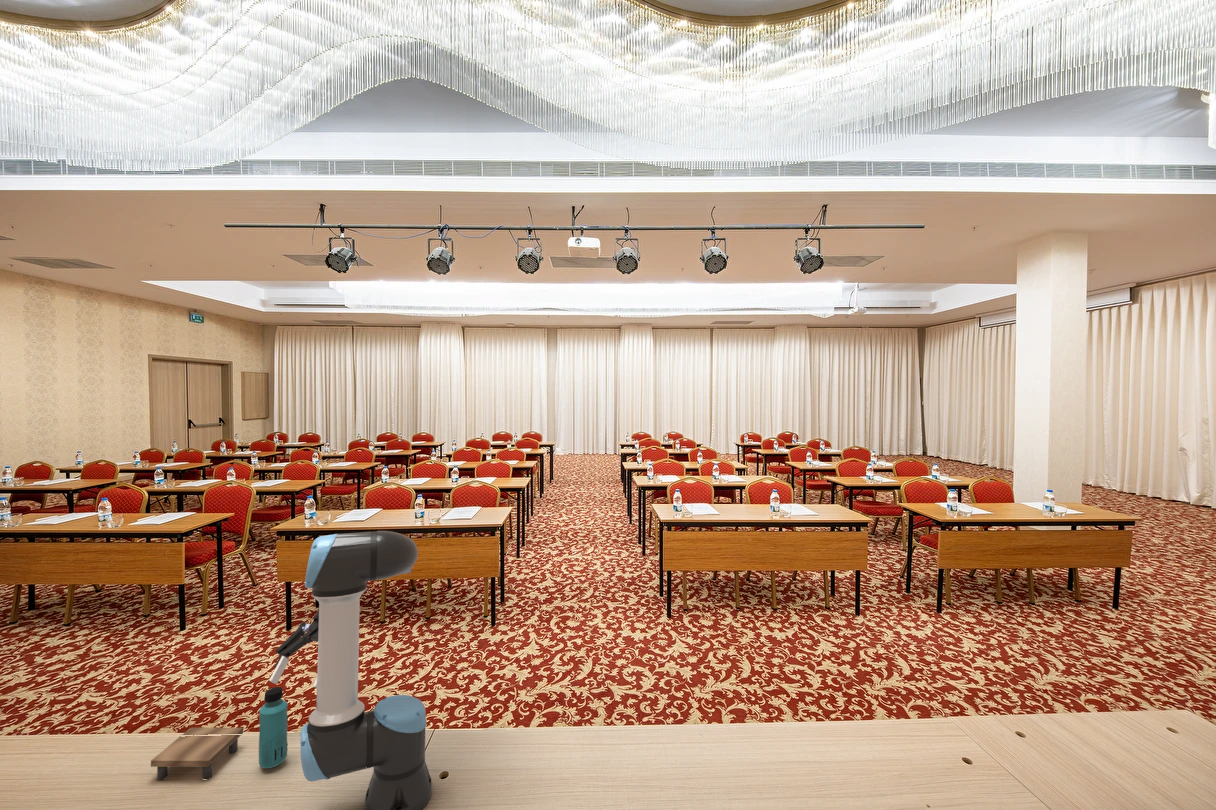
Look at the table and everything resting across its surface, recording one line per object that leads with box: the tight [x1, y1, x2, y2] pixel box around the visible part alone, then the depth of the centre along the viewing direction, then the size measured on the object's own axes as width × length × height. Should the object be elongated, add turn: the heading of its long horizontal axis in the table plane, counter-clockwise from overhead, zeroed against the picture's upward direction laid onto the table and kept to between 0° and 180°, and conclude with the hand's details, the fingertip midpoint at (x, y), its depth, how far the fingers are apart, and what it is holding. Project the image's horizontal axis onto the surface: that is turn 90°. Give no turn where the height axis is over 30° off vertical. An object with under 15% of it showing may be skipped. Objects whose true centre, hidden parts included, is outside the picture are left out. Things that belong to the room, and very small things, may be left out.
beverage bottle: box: [257, 686, 289, 769], centre depth 137 cm, size 6×7×20 cm
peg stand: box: [150, 727, 244, 781], centre depth 137 cm, size 14×13×6 cm
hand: (294, 685), depth 144 cm, fingers open, 13 cm apart
